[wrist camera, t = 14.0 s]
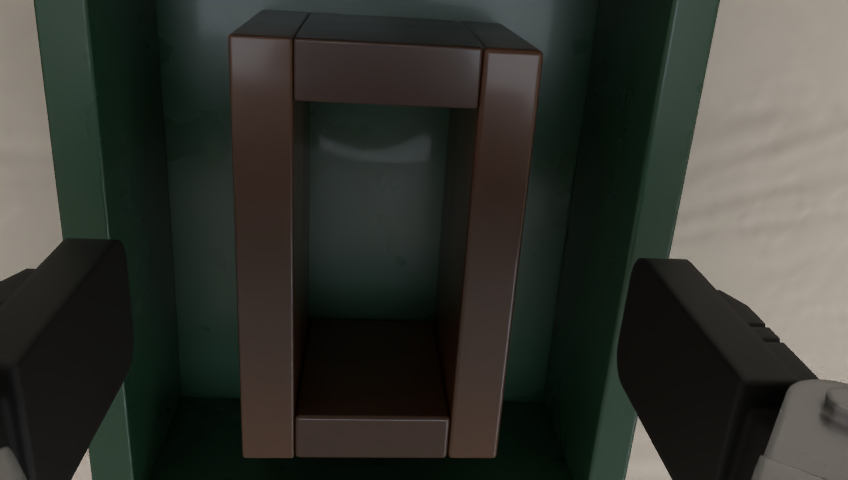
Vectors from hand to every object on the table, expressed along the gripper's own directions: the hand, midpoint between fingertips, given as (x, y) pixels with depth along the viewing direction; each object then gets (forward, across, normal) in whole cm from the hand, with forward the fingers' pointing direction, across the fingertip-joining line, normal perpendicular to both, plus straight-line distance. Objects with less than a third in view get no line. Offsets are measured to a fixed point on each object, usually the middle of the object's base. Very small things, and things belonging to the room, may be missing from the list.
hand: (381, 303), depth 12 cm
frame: (+6, 0, 0) cm, 6 cm away
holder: (+6, 0, 0) cm, 6 cm away
